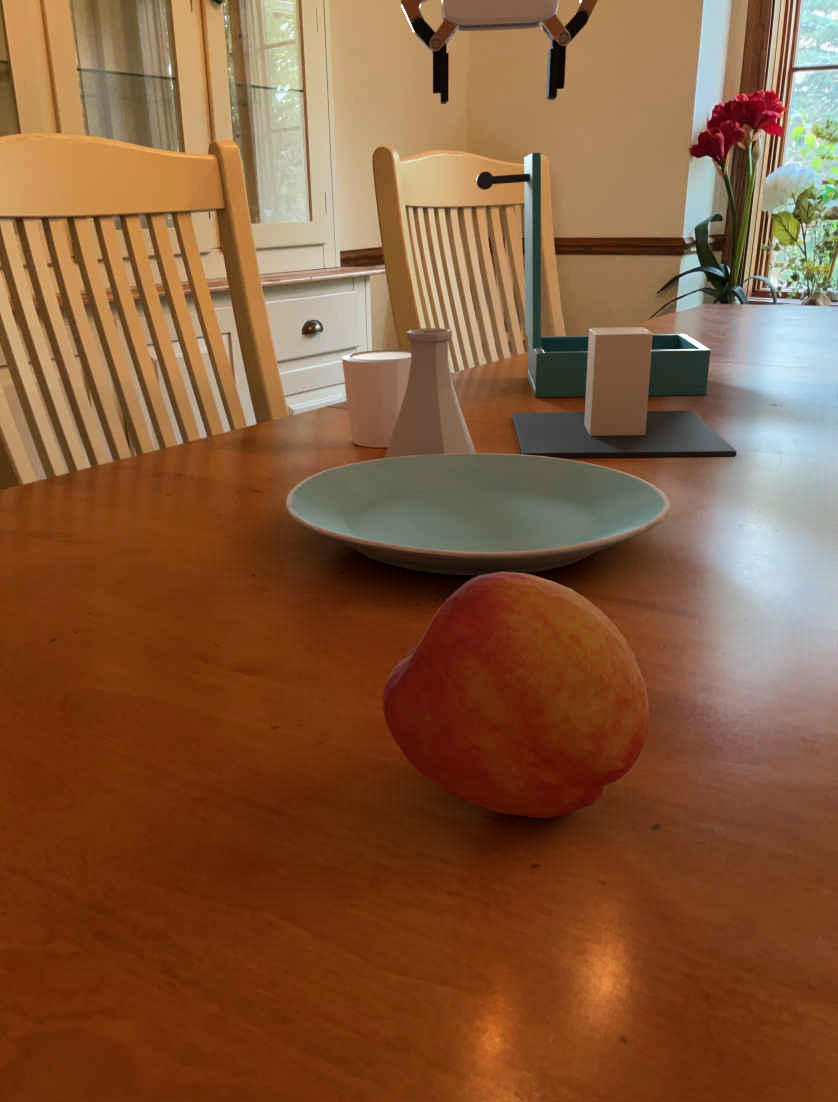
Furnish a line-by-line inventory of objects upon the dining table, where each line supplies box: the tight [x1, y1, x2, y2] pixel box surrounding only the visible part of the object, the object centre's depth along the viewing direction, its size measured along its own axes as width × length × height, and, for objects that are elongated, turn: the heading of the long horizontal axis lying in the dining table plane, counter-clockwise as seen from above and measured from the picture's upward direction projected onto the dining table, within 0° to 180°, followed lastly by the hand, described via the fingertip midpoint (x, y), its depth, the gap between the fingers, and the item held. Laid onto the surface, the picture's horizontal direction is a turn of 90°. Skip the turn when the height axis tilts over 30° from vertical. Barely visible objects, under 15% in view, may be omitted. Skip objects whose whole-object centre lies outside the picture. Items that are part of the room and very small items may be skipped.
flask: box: [384, 327, 477, 458], centre depth 76 cm, size 7×7×10 cm
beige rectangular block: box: [584, 326, 654, 436], centre depth 85 cm, size 4×4×8 cm
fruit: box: [381, 572, 650, 819], centre depth 34 cm, size 8×8×8 cm
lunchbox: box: [526, 333, 711, 398], centre depth 108 cm, size 17×13×4 cm
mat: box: [512, 409, 737, 459], centre depth 87 cm, size 16×16×1 cm
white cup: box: [341, 349, 411, 449], centre depth 86 cm, size 7×7×7 cm
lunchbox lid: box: [475, 152, 542, 349], centre depth 104 cm, size 17×13×6 cm
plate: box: [284, 452, 671, 577], centre depth 62 cm, size 22×22×3 cm
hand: (497, 100), depth 94 cm, fingers open, 9 cm apart
